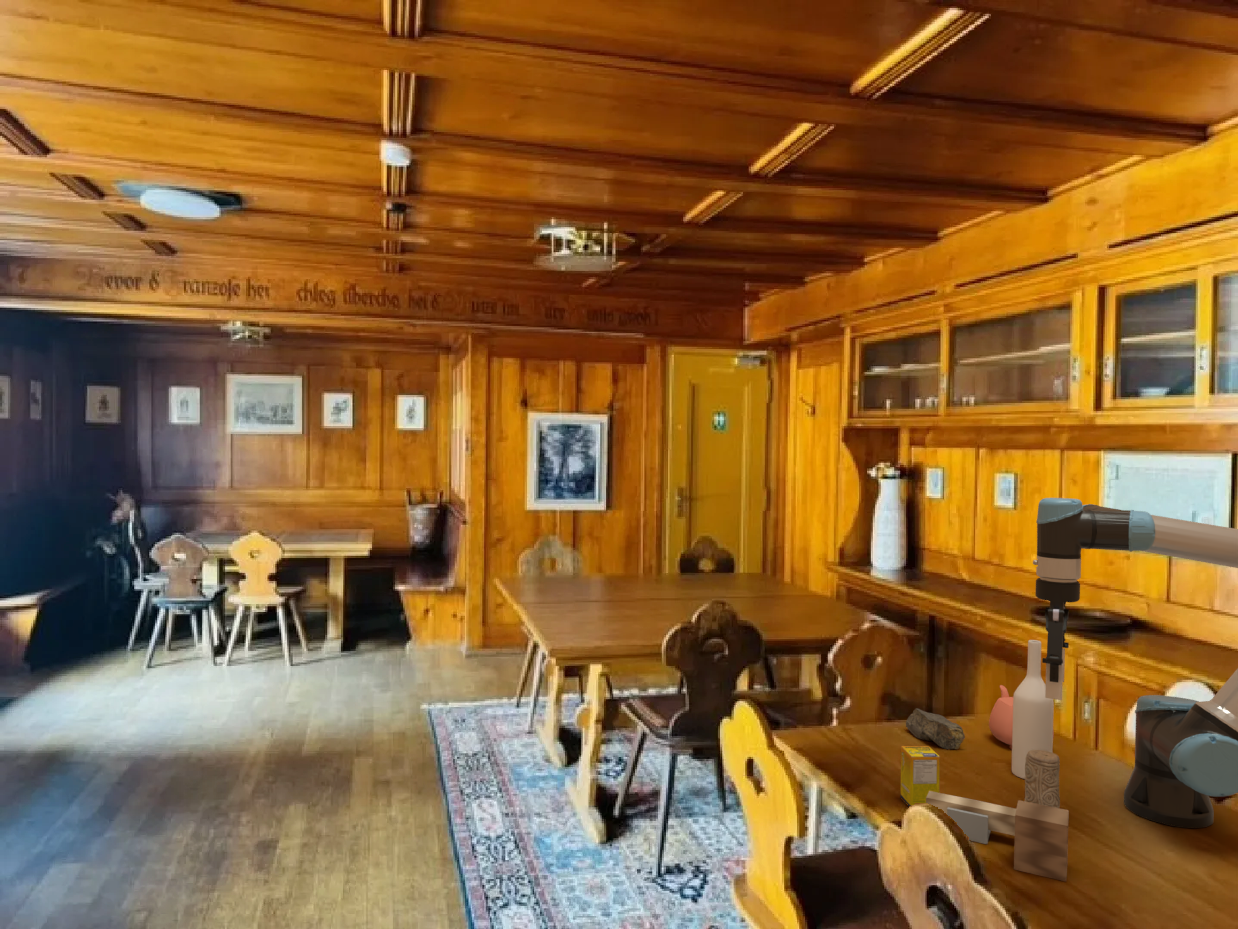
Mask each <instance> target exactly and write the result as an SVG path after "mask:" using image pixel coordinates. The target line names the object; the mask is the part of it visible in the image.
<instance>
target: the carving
mask: <svg viewBox="0 0 1238 929" xmlns="http://www.w3.org/2000/svg"><path fill="white" fill-rule="evenodd" d="M1026 756H1027V757H1026V762H1025V779H1024V783H1025V784H1024V801H1025V802H1030V803H1035V804H1040V805H1045V806H1050V807H1055V808H1060V807H1061V798H1060V768H1061V767H1060V756H1059V755H1058V754H1057V753H1054V752H1053V751H1052V752H1048V751H1044V750H1030V751H1029V752H1028V753H1027V755H1026Z"/></svg>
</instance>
